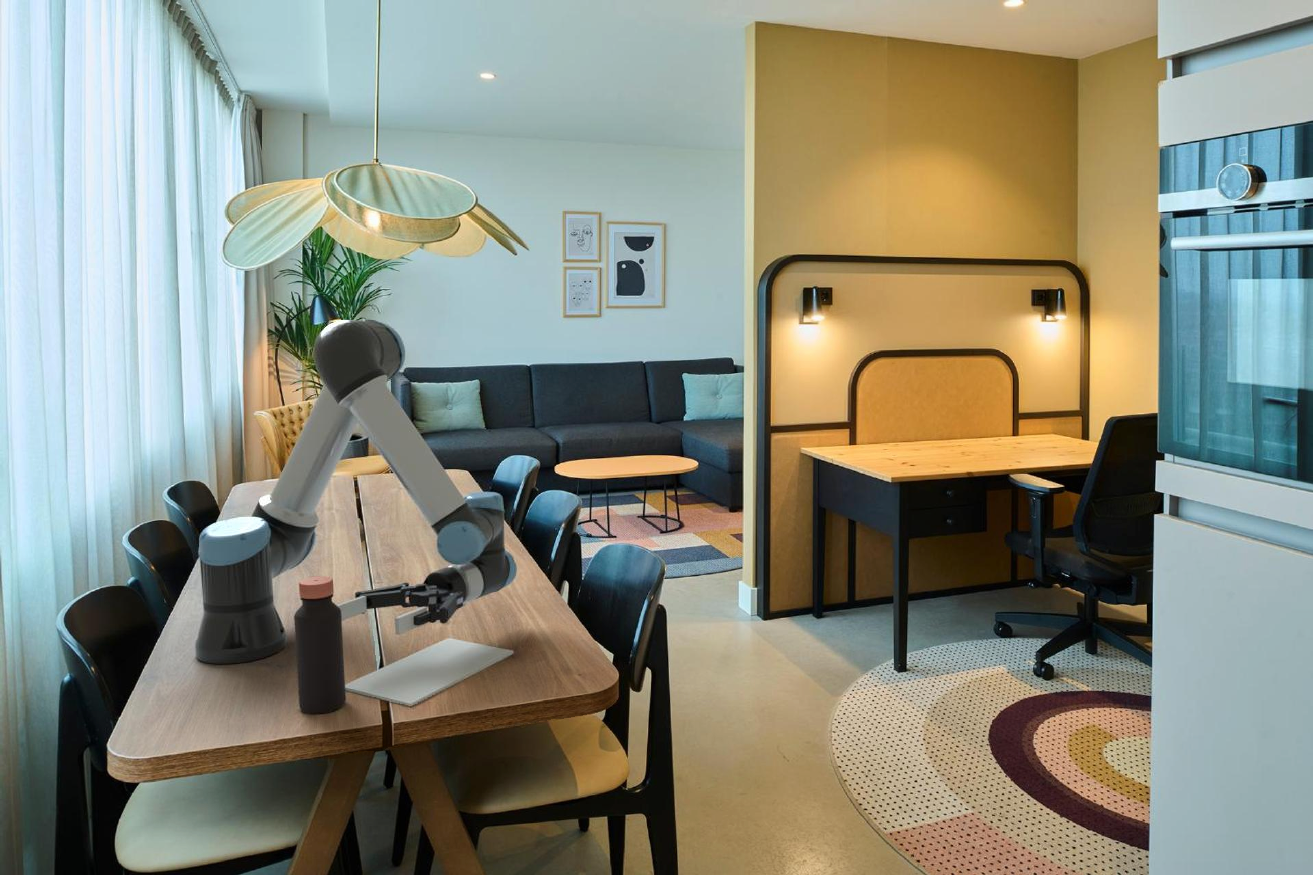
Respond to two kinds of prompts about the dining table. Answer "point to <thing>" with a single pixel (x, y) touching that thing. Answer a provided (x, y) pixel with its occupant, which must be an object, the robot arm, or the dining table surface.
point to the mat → (427, 671)
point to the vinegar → (319, 648)
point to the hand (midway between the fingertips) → (365, 620)
